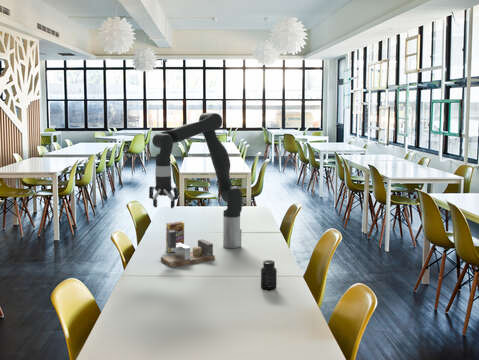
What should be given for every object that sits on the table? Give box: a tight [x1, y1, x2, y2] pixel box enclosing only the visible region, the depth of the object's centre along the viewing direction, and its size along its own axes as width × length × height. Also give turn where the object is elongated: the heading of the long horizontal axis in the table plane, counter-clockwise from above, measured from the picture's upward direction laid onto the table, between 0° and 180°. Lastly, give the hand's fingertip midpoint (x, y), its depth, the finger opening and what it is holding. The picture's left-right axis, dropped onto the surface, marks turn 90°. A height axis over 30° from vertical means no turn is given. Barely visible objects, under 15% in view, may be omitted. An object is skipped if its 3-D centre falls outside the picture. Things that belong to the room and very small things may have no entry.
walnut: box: [192, 246, 201, 256], centre depth 262 cm, size 4×4×4 cm
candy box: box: [165, 221, 185, 253], centre depth 274 cm, size 9×4×15 cm, turn 123°
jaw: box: [168, 230, 191, 260], centre depth 254 cm, size 9×10×14 cm
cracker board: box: [160, 239, 216, 268], centre depth 259 cm, size 24×12×8 cm, turn 124°
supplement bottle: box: [260, 259, 278, 292], centre depth 222 cm, size 7×7×12 cm
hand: (163, 207), depth 252 cm, fingers open, 8 cm apart
